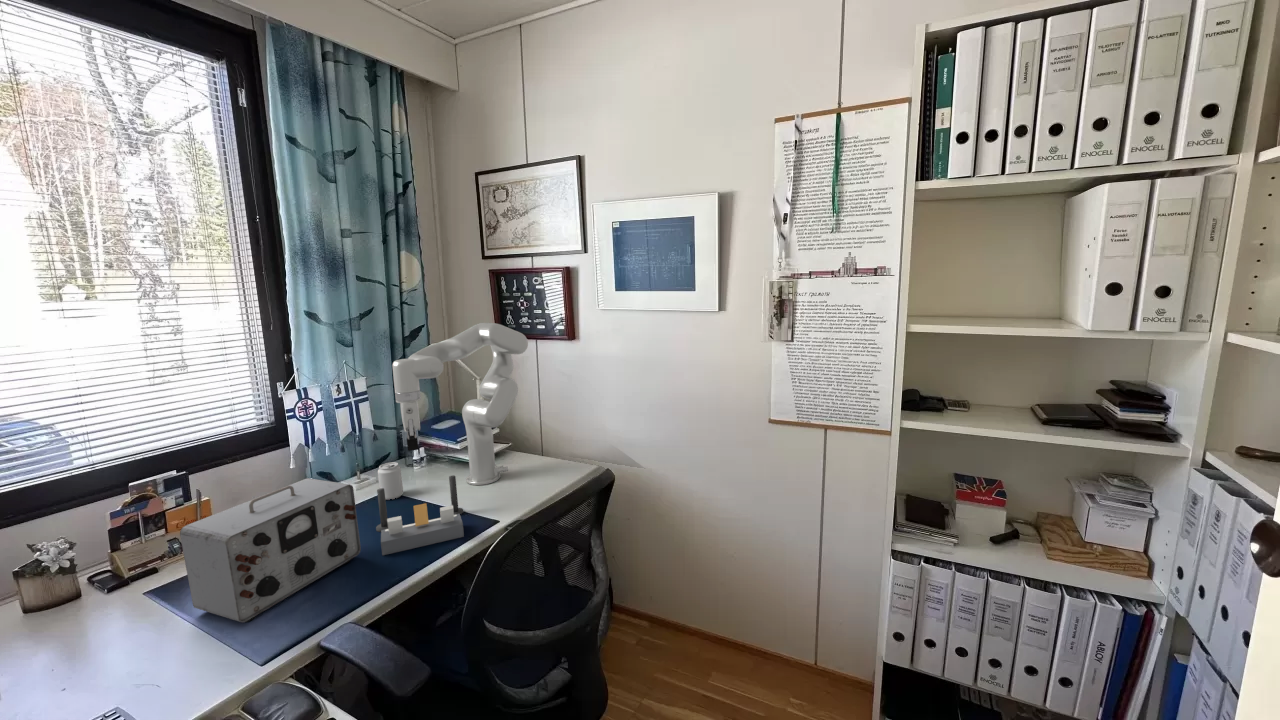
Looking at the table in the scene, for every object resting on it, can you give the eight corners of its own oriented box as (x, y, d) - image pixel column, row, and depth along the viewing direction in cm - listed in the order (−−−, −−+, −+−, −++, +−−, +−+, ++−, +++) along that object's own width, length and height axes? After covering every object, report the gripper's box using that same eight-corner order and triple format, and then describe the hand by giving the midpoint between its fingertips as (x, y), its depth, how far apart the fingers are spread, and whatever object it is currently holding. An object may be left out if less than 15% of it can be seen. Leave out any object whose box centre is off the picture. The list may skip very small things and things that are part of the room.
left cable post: (393, 523, 163) (389, 485, 161) (393, 529, 158) (389, 490, 156) (376, 526, 161) (371, 488, 159) (375, 533, 156) (371, 494, 154)
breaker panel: (460, 525, 160) (459, 513, 159) (463, 536, 153) (462, 523, 152) (382, 542, 150) (381, 529, 150) (382, 555, 143) (380, 541, 143)
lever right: (453, 517, 155) (452, 505, 151) (453, 520, 154) (453, 508, 150) (440, 520, 153) (439, 507, 150) (441, 523, 152) (440, 511, 149)
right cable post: (462, 508, 172) (459, 472, 170) (464, 514, 167) (461, 477, 165) (446, 511, 170) (443, 475, 168) (448, 518, 165) (444, 480, 163)
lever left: (402, 528, 149) (401, 515, 145) (403, 531, 148) (401, 519, 144) (389, 531, 147) (387, 518, 144) (389, 534, 146) (387, 522, 143)
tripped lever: (428, 523, 152) (426, 503, 154) (428, 523, 151) (426, 503, 153) (415, 526, 151) (413, 506, 153) (415, 526, 150) (413, 505, 152)
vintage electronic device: (246, 632, 113) (229, 527, 109) (194, 616, 119) (176, 516, 115) (367, 558, 142) (356, 473, 138) (320, 548, 148) (309, 466, 144)
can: (397, 500, 180) (393, 468, 178) (376, 501, 180) (372, 468, 178) (407, 491, 187) (404, 460, 185) (387, 492, 187) (383, 461, 185)
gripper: (421, 399, 163) (426, 453, 166) (419, 391, 177) (423, 441, 180) (395, 402, 160) (401, 457, 163) (395, 393, 174) (400, 445, 176)
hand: (413, 449), depth 171 cm, fingers closed
